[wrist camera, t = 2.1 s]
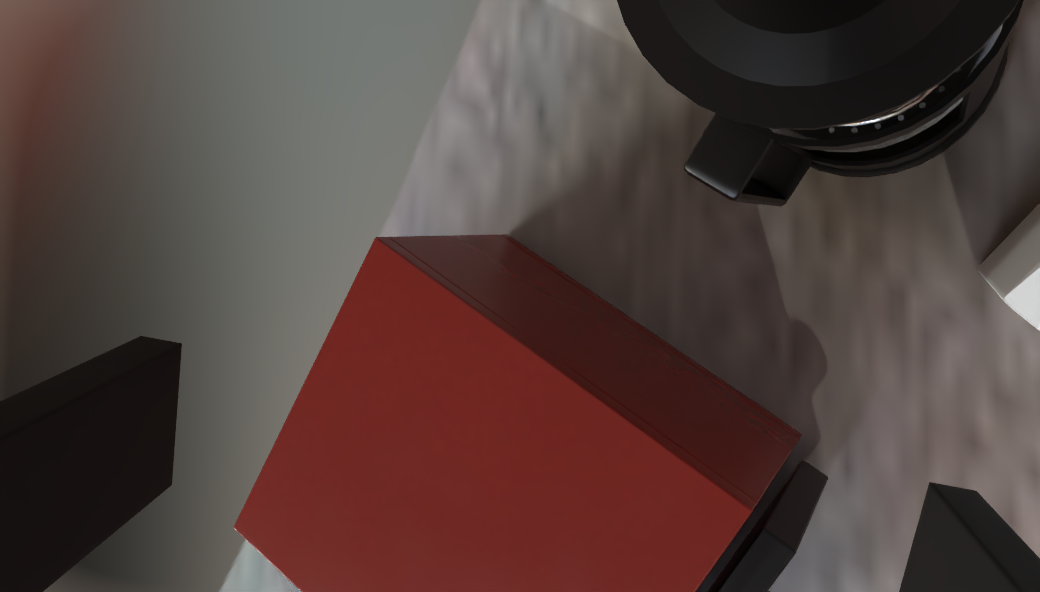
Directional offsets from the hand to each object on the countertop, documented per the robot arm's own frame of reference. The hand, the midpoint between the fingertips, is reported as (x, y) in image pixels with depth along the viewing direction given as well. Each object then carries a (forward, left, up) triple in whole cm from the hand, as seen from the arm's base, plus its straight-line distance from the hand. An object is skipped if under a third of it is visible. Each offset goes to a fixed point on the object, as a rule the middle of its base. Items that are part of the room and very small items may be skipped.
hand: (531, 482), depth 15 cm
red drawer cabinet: (+10, +2, -23) cm, 25 cm away
